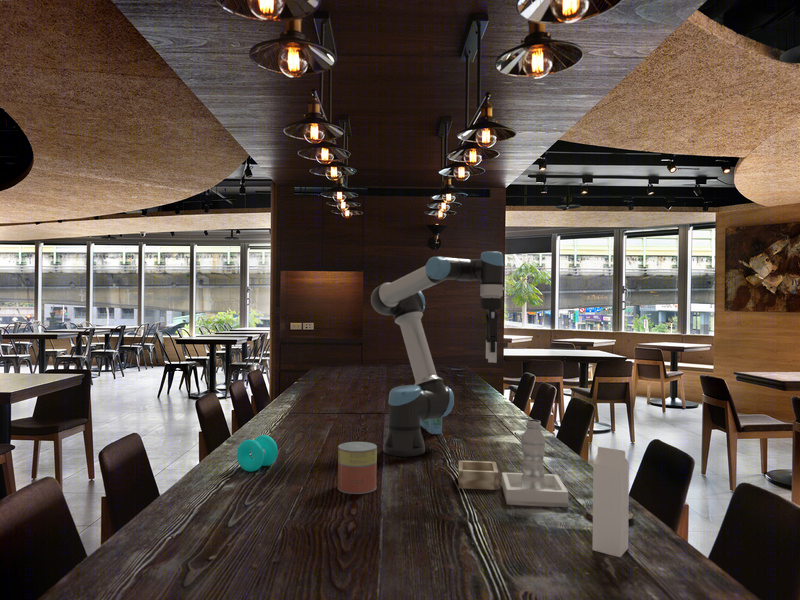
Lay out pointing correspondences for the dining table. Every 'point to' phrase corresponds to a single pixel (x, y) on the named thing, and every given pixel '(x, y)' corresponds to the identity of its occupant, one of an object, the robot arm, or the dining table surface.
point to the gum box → (432, 425)
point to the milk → (610, 501)
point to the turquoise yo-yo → (257, 453)
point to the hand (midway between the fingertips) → (490, 360)
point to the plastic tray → (534, 491)
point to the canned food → (357, 467)
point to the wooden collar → (478, 475)
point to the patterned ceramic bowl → (590, 513)
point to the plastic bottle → (533, 456)
